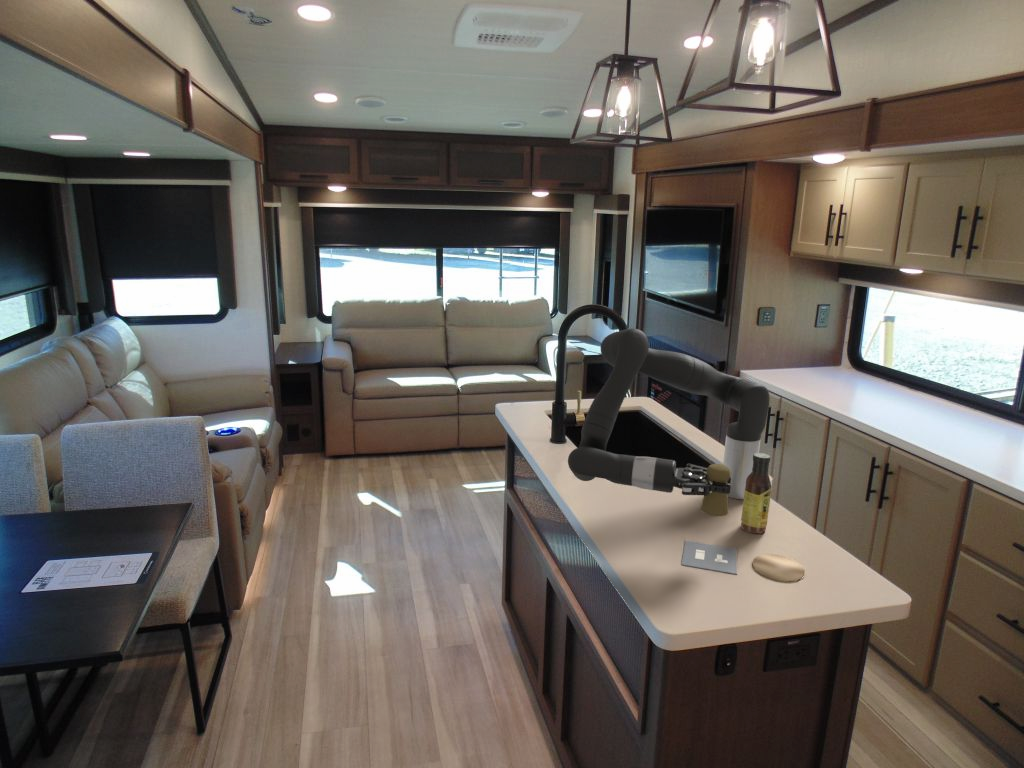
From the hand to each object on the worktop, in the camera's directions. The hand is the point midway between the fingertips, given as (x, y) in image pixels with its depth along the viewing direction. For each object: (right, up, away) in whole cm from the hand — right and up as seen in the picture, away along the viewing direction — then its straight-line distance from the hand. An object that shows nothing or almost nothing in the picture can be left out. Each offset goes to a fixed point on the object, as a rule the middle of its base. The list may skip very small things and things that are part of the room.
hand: (730, 484), depth 151 cm
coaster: (+11, -19, +1) cm, 22 cm away
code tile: (-3, -18, +6) cm, 19 cm away
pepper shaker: (-3, -6, +3) cm, 8 cm away
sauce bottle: (+12, -14, +20) cm, 28 cm away
